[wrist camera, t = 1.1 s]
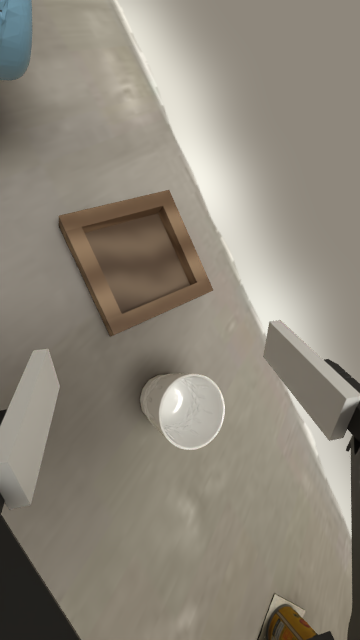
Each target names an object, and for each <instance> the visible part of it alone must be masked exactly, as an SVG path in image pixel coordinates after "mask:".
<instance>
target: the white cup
mask: <svg viewBox="0 0 360 640" xmlns="http://www.w3.org/2000/svg"><path fill="white" fill-rule="evenodd" d="M140 403H141V408H142V412H143V413H144V414H145V416H146V417H147V418H148V420H149V421H150V422H151V423H152V425H153V426H154V427H155V428H156V429H157V430H158V431H159V432H160V433H161V434H162V435H163V436H164V437H165V438H166V439H167V440H168V441H169V442H170V443H172V444H173V445H175V446H176V447H178V448H181V449H185V450H194V449H198V448H201V447H203V446H205V445H207V444H208V443H209V442H211V441H212V440H213V439H214V438H215V436H216V435H217V434H218V432H219V430H220V428H221V426H222V423H223V420H224V414H225V405H224V399H223V396H222V393H221V391H220V389H219V388H218V386H217V385H216V384H215V383H214V382H213V381H212V380H211V379H209V378H208V377H206V376H203V375H200V374H182V373H176V374H166V375H157V376H155V377H154V378H152V379H150V380H149V381H148V382H147V383H146V385H145V386H144V387H143V389H142V393H141V397H140Z"/></svg>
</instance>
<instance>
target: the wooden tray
mask: <svg viewBox="0 0 360 640" xmlns="http://www.w3.org/2000/svg"><path fill="white" fill-rule="evenodd" d="M59 228H60V230H61V232H62V234H63V236H64V238H65V240H66V243H67V245H68V247H69V249H70V251H71V253H72V255H73V258H74V260H75V262H76V264H77V266H78V268H79V270H80V273H81V275H82V277H83V279H84V281H85V283H86V285H87V288H88V290H89V292H90V294H91V296H92V298H93V300H94V303H95V305H96V307H97V309H98V311H99V313H100V315H101V318H102V320H103V322H104V324H105V326H106V328H107V330H108V333H109V335H110V337H111V336H113V335H115V334H117V333H120V332H122V331H124V330H126V329H129V328H131V327H133V326H135V325H137V324H140V323H142V322H144V321H146V320H149V319H151V318H153V317H155V316H157V315H160V314H162V313H164V312H166V311H168V310H171V309H173V308H175V307H177V306H180V305H182V304H184V303H186V302H188V301H191V300H193V299H195V298H197V297H200V296H202V295H204V294H206V293H208V292H211V291H213V288H212V286H211V284H210V282H209V279H208V277H207V275H206V272H205V270H204V268H203V266H202V263H201V261H200V259H199V257H198V254H197V252H196V250H195V248H194V245H193V243H192V241H191V239H190V236H189V234H188V232H187V229H186V227H185V225H184V223H183V220H182V218H181V216H180V214H179V211H178V209H177V207H176V205H175V202H174V200H173V198H172V196H171V193H170V191H169V190H167V191H162V192H158V193H154V194H150V195H145V196H141V197H137V198H133V199H128V200H124V201H120V202H115V203H111V204H107V205H103V206H98V207H94V208H90V209H86V210H81V211H77V212H73V213H69V214H64V215H60V216H59Z"/></svg>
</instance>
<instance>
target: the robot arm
mask: <svg viewBox="0 0 360 640" xmlns="http://www.w3.org/2000/svg"><path fill="white" fill-rule="evenodd" d="M31 47H32V1H31V0H0V80H15V79H18V78H20V77H21V76H22V75H23V74H24V73H25V71H26V70H27V67H28V65H29V61H30V56H31ZM263 357H264V358H265V359H266V361H267V362H268V363H269V365H270V366H271V367H272V368H273V370H274V371H275V372H276V373H277V375H278V376H279V377H280V379H281V380H282V381H283V382H284V384H285V385H286V386H287V387H288V389H289V390H290V391H291V393H292V394H293V395H294V396H295V398H296V399H297V400H298V401H299V403H300V404H301V405H302V407H303V408H304V409H305V410H306V412H307V413H308V414H309V415H310V417H311V418H312V419H313V421H314V422H315V423H316V424H317V426H318V427H319V428H320V430H321V431H322V432H323V433H324V435H325V436H326V437H327V438H328V440H329V441H330V440H335V439H339V438H343V437H344V435H345V433H346V431H347V429H348V430H349V431H350V432H351V434H352V435H353V436H352V438H351V440H350V442H349V444H348V446H347V449H346V451H349V450H350V448H351V505H352V507H351V509H352V510H351V511H352V601H353V603H352V614H351V618H350V622H349V627H348V638H347V640H360V384H359V383H358V382H357V381H356V380H355V379H354V378H351V376H350V375H349V374H348V373H347V372H345V370H344V369H342V368H341V367H340V366H339V365H338V364H336V363H334V362H332V361H330V360H329V359H326V360H323V359H322V358H321V357H320V356H319V355H318V354H316V353H315V352H314V351H313V350H312V349H311V348H310V347H309V346H308V345H307V344H306V343H304V341H303V340H301V339H300V338H299V337H298V336H297V335H296V334H295V333H294V332H293V331H292V330H291V329H290V328H288V327H287V326H286V325H285V324H284V323H283V322H282V321H281V320H279V321H270V322H269V327H268V333H267V338H266V344H265V350H264V355H263ZM59 388H60V385H59V382H58V378H57V375H56V372H55V369H54V365H53V362H52V359H51V356H50V353H49V349H41V350H33V352H32V354H31V357H30V359H29V361H28V364H27V366H26V368H25V370H24V373H23V375H22V377H21V380H20V382H19V384H18V387H17V389H16V391H15V393H14V396H13V398H12V400H11V403H10V405H9V407H8V409H7V410H2V411H0V640H81V639H80V637H79V636H78V634H77V633H76V631H75V629H74V628H73V626H72V625H71V623H70V622H69V620H68V618H67V617H66V615H65V614H64V612H63V611H62V609H61V608H60V606H59V604H58V603H57V601H56V600H55V598H54V597H53V595H52V593H51V592H50V590H49V589H48V587H47V586H46V584H45V582H44V581H43V579H42V578H41V576H40V575H39V573H38V572H37V570H36V568H35V567H34V565H33V564H32V562H31V561H30V559H29V557H28V556H27V554H26V553H25V551H24V550H23V548H22V547H21V545H20V543H19V542H18V540H17V539H16V537H15V536H14V534H13V532H12V531H11V529H10V528H9V526H8V525H7V523H6V522H5V520H4V518H3V517H2V515H1V512H2V509H3V505H4V502H5V504H6V505H7V507H8V508H9V510H11V509H15V508H20V507H25V506H29V505H31V503H32V499H33V495H34V491H35V486H36V482H37V478H38V474H39V470H40V466H41V462H42V458H43V454H44V450H45V445H46V441H47V437H48V433H49V429H50V425H51V421H52V417H53V413H54V409H55V404H56V400H57V396H58V392H59ZM306 640H334V638H333V636H332V634H331V632H330V631H328V632H326V633H323V634H320V635H317V636H314V637H312V638H309V639H306Z"/></svg>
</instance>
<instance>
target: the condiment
mask: <svg viewBox="0 0 360 640" xmlns="http://www.w3.org/2000/svg"><path fill="white" fill-rule="evenodd" d="M305 612H306V611H305V610H303V609H301V608H300V607H298V606H296V605H294V604H293V603H291V602H289V601H287V600H285V599H283V598H281V597H279V596H277V595H276V594H275V595H274V598H273V600H272V603H271V605H270V608H269V611H268V613H267V616H266V619H265V621H264V625H263V628H262V632H261V635H260V637H259V640H306V639H309V638H312V637H314V636H317V635H318V634H317V633H316V632H315V631H314V630H313V629H312V628H311V627H310V626H309V625H308V623H307V622H306V621H304V619H303V615H304V613H305ZM264 637H265V638H264Z"/></svg>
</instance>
